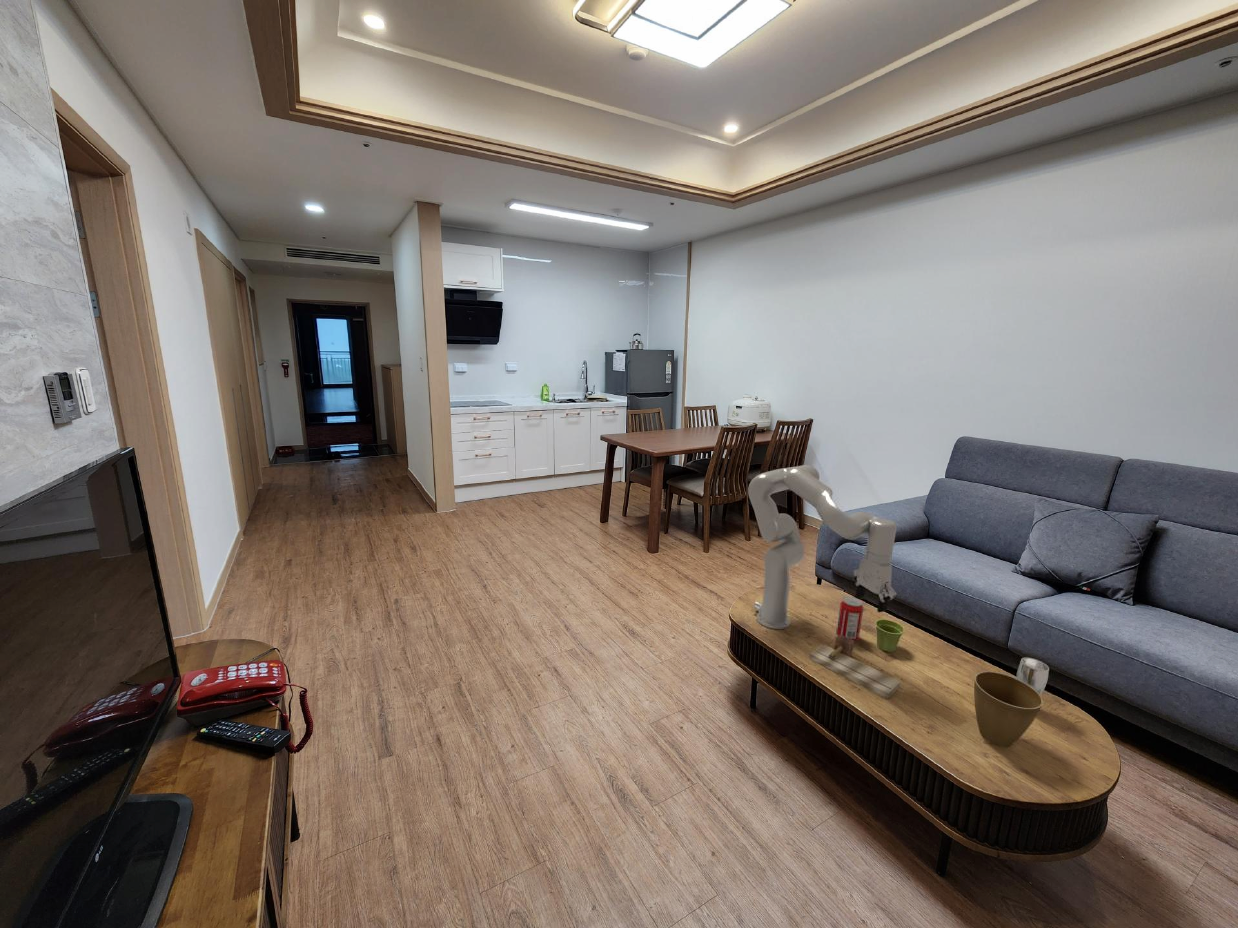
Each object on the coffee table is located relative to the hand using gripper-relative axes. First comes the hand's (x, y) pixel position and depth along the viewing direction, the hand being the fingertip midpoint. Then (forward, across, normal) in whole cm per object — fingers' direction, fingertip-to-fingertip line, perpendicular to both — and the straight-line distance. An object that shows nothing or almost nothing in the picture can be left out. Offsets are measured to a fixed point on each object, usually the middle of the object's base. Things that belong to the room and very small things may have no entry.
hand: (870, 603), depth 166 cm
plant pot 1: (+23, -5, +16) cm, 28 cm away
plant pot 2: (+22, +38, +12) cm, 46 cm away
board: (+22, +4, -6) cm, 24 cm away
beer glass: (+22, +31, +33) cm, 51 cm away
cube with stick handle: (+23, -4, -6) cm, 24 cm away
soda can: (+23, -14, +7) cm, 28 cm away
